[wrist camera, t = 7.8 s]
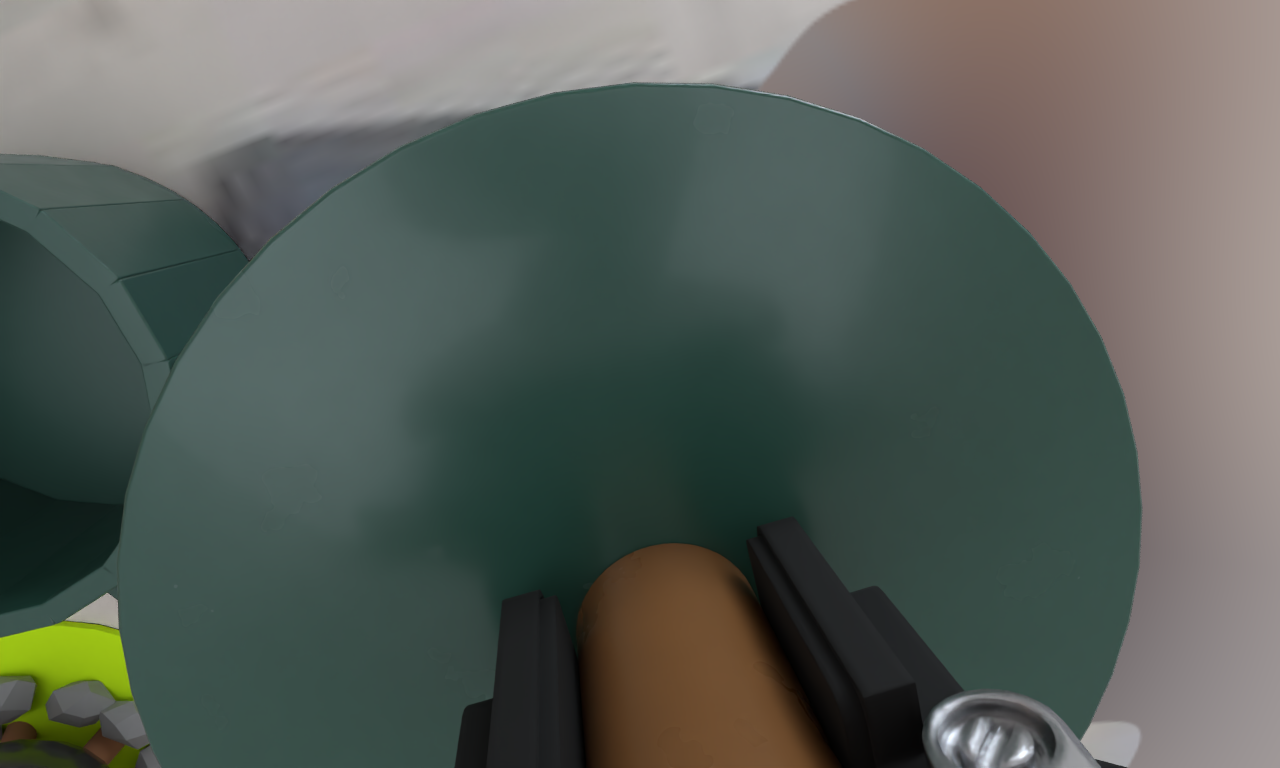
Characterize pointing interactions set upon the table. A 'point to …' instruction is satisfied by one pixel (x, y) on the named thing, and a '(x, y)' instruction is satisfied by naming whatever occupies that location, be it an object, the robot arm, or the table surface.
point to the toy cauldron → (69, 701)
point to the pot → (86, 363)
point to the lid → (621, 440)
